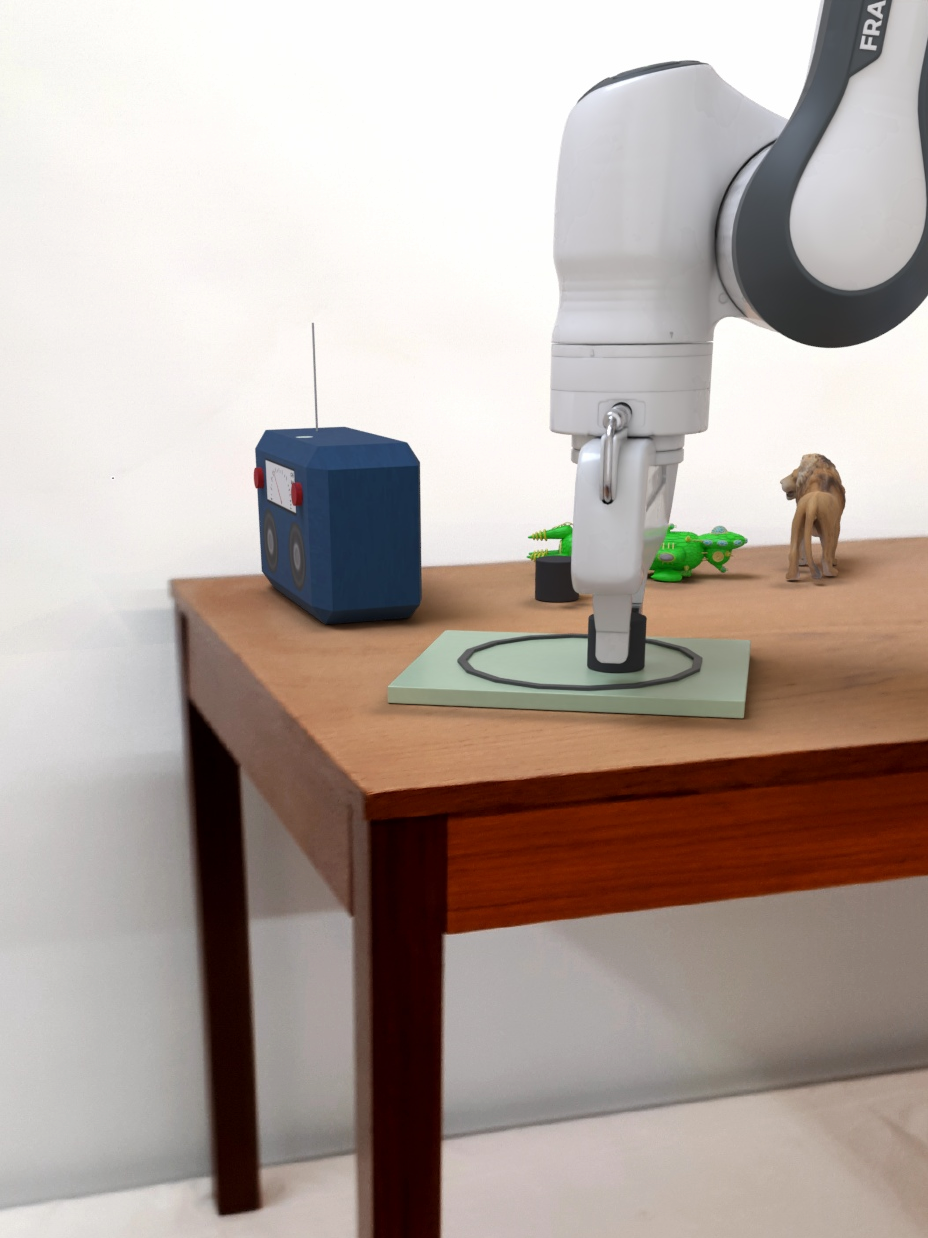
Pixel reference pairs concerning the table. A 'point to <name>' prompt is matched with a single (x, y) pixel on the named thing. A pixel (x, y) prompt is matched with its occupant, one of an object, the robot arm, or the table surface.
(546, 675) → the board
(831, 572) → the lion figurine
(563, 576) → the eye dot
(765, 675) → the table surface
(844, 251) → the robot arm
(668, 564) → the green toy spaceship
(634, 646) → the eye dot
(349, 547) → the radio
